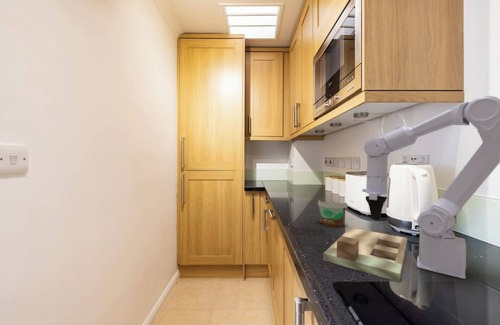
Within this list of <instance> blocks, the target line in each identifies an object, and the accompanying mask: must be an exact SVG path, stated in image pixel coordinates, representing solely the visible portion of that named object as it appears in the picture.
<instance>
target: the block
mask: <svg viewBox="0 0 500 325" xmlns="http://www.w3.org/2000/svg"><path fill="white" fill-rule="evenodd" d="M336 241H337V257H339V258H343V259H346V260H350V261H354V262H355V260H356V259H357V257H358V253H359V239H354V238H349V237H345V236H342V235H341V236H340V237H339V238H338V239H337V240H336Z"/></svg>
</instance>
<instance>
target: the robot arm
mask: <svg viewBox="0 0 500 325" xmlns="http://www.w3.org/2000/svg"><path fill="white" fill-rule="evenodd" d="M470 124H471V125H472V126H473V127H474V128H475V129H476V130H477V133H478V134H479V137H480V139H481V140H482V141H481V142H482V143H481V145H479V147H478V148H477V149H476V151H475V152H474V153H473V155H472V156H471V157H470V159H469V160H468V161H467V163H466V164H465V165H464V166H463V168H461V170H460V172H459V173H458V174H457V175H456V177H455V178H454V180H453V181H452V182H451V183H450V185H448V187H447V188H446V190H445V191H444V193H442V195H440V198H438V199H437V200H436V201H435V202H434V203H433V204H432V205H431V207H430V208H429V209H427V210H424V211H422V212H421V213H420V214H419V215H418V217H417V225H418V227H419V228H420V229H419V246H418V248H419V250H418V255H417V258H416V267H417V268H418V269H421V270H427V271H431V272H434V273H438V274H441V275H442V274H443V275H447V276H451V277H455V278H459V279H464V280H465V279H466V269H467V243H466V239H465V238H463V237H458V236H456V234H455V233H454V231H453V227H455V225H456V224H457V218H458V215H459V214H460V212H461V211H462V209H463V208H464V206H465V205H466V204H467V202H468V201H469V200H470V199H471V198H472V196H473V195H475V193H476V192H477V191H478V189H479V188H480V187H481V186H482V185H483V184H484V182H485V181H486V180H487V179H488V178H489V177H490V176H491V174H492V172H494V171H495V169H496V168H497V167H498V166H499V164H500V98H499V97H496V96H493V95H481V96H479V97H476V98H474V99H471V101H466V102H461V103H459V104H457V105H456V106H454V107H451V108H450V109H447V110H446V111H443V112H441V113H439V114H437V115H435V116H433V117H430V118H429V119H426V120H424V121H422V122H420V123H418V124H416V125H414V126H407V125H403V126H401V125H398V126H396V127H395V130H391V131H389V132H387V133H385V134H383V133H382V134H380V135H379V137H371V138H369V139H368V140H366V142H365V143H364V145H363V150H364V152H365V154H366V159H367V160H366V186H365V187H366V188H362V190H361V191H362V192H363V193H366V194H368V195H366V196H365V200H366V202H367V204H368V208H369V212H370V216H371V217H370V218H371V220H376V221H380V219H381V217H382V212H383V208H384V205H385V203H386V201H387V199H388V197H387V196H383V195H388V164H389V163H388V157H389V155H390V154H391V153H393V152H395V151H399V150H401V149H403V148H406V147H409V146H411V145H414V144H415V143H416V141H417V140H418V138H421V137H422V136H426V135H428V134H431V133H434V132H436V131H439V130H440V131H441V129H445V128H448V127H451V126H470Z"/></svg>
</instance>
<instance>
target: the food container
mask: <svg viewBox="0 0 500 325" xmlns="http://www.w3.org/2000/svg"><path fill="white" fill-rule="evenodd" d="M317 205H318V207H319V218H320V223H321V225H323V226H325V225H326V227H331V228H340V227H343V226H344V225H345V216H346V209H347V208H348V203H347V202H343V203H342V202H341V203H339V202H335V201H321V199H319V200H318V201H317Z"/></svg>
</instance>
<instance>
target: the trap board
mask: <svg viewBox="0 0 500 325" xmlns="http://www.w3.org/2000/svg"><path fill="white" fill-rule="evenodd" d="M341 236H345V237H349V238H354V239H359V253H358V257H357V259H356V260H355V262H354V261H350V260H346V259H343V258H339V257H337V240H336V241H335V242H334V243H332V244H331V246H330V247H329V248H327V249H326V250H325V251H324V252H323V254H322V255H323V256H322V257H323V258H322V259H323V260H322V261H324V262H328V263H331V264H334V265H337V266H342V267H344V268H349V269H351V270H356V271H359V272H362V273H365V274H369V275H373V276H376V277H380V278H383V279H386V280H387V279H388V280H390V281H394V282H398V283H400V281H401V278H402V277H401V276H402V272H403V268H404V267H403V266H404V261H405V257H406V251H407V247H408V237H403V236H398V235H397V236H396V235H392V234H387V233H382V232H376V231H370V230H365V229H362V228H361V229H359V228H354V227H349V229H347V230H346V231H345V232H344V233H343V234H342V235H341Z"/></svg>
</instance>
